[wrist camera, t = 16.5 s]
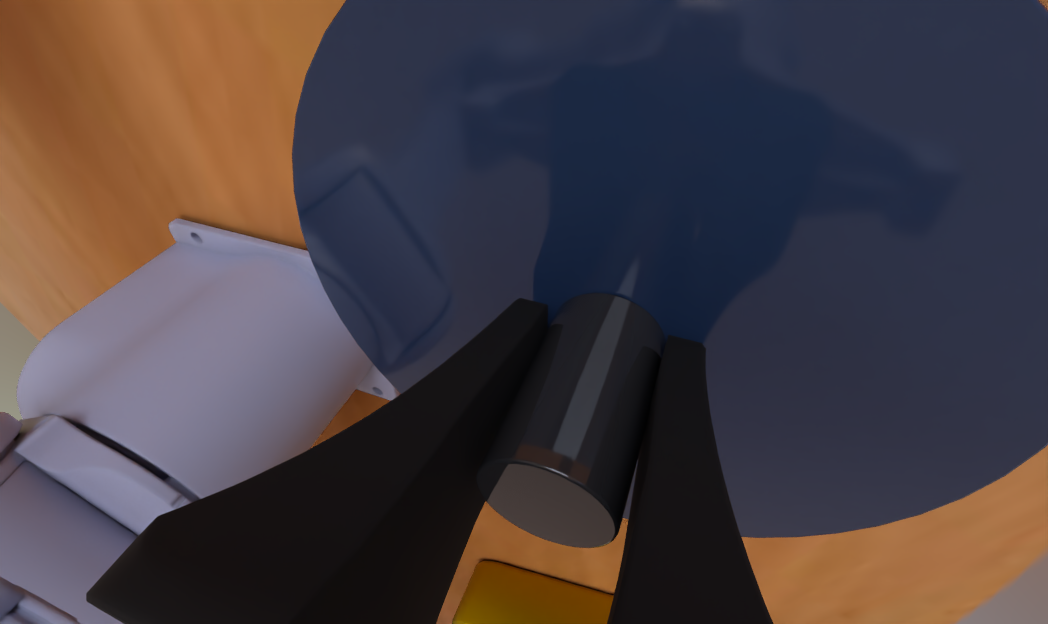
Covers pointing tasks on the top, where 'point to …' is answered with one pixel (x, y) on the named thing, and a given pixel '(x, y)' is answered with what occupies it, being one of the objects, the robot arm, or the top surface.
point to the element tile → (528, 599)
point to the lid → (701, 236)
